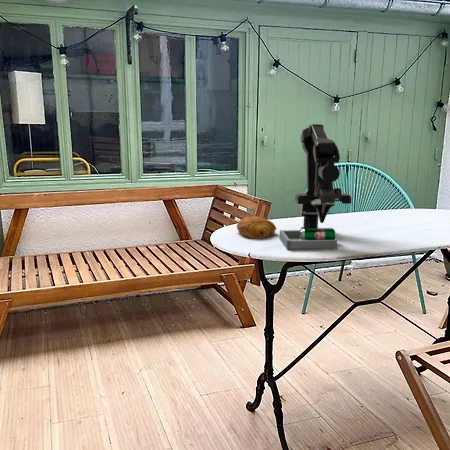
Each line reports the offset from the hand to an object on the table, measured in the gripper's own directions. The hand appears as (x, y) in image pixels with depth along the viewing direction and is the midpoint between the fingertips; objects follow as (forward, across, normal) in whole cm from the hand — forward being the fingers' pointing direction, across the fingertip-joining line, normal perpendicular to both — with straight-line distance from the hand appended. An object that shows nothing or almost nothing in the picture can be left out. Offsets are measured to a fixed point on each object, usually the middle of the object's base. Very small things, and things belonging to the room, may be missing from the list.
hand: (321, 222), depth 162 cm
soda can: (+5, +5, 0) cm, 7 cm away
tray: (+8, -5, 0) cm, 9 cm away
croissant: (+8, -21, +15) cm, 27 cm away
